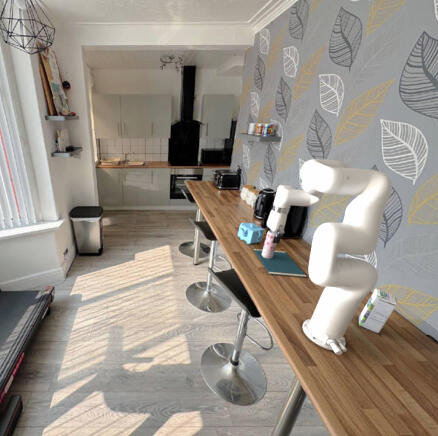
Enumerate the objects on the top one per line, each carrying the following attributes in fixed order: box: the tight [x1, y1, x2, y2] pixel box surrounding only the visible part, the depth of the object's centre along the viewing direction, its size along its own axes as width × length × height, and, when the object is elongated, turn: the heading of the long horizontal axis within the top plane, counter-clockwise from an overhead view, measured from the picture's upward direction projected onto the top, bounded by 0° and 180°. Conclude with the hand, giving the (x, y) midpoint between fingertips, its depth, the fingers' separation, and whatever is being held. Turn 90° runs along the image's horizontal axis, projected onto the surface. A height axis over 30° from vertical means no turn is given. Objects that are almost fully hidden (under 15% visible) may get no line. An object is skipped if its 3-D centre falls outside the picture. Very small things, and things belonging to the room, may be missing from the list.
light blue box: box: [237, 222, 265, 245], centre depth 146 cm, size 16×18×11 cm
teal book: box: [253, 248, 308, 278], centre depth 127 cm, size 24×18×1 cm
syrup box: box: [358, 288, 398, 334], centre depth 86 cm, size 6×6×14 cm
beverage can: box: [262, 230, 280, 259], centre depth 128 cm, size 6×6×15 cm
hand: (271, 238), depth 127 cm, fingers open, 9 cm apart
